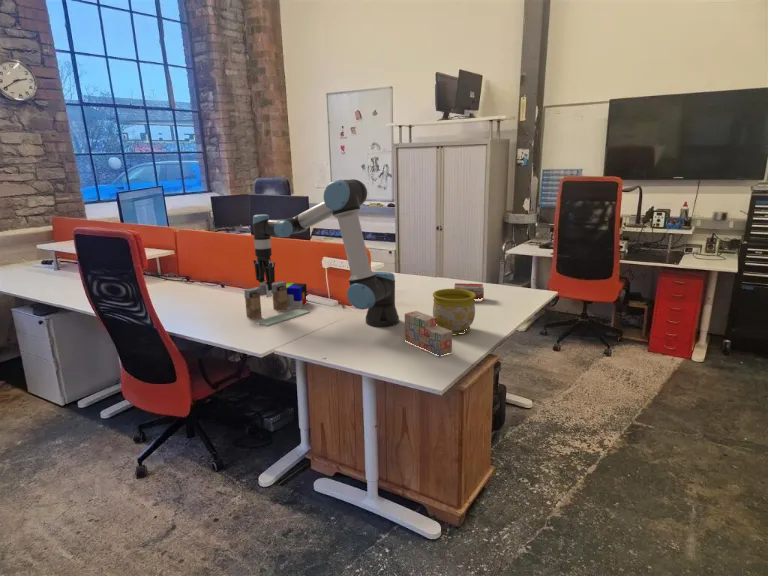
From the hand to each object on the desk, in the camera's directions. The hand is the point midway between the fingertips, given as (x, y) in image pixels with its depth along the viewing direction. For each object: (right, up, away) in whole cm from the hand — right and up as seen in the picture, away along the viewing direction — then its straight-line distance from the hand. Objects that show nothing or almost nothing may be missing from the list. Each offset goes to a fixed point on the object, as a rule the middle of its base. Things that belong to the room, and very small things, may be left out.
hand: (266, 295), depth 238 cm
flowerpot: (+86, -15, -25) cm, 91 cm away
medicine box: (+101, -3, +22) cm, 103 cm away
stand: (0, -8, +2) cm, 9 cm away
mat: (+9, -10, -5) cm, 15 cm away
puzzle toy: (+11, -5, +16) cm, 20 cm away
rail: (0, +1, 0) cm, 1 cm away
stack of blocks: (+74, -20, -45) cm, 88 cm away
